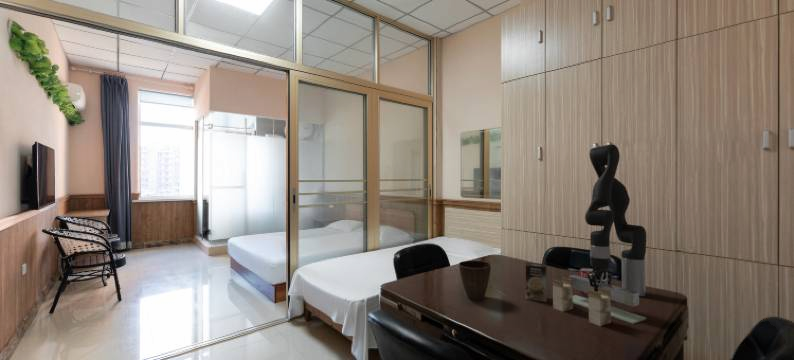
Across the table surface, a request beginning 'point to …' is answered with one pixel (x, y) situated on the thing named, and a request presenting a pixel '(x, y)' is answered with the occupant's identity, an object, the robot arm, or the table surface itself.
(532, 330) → the table surface
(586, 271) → the soda can
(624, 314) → the felt mat
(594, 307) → the post
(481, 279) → the plant pot
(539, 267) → the coffee box
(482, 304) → the table surface
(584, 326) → the table surface
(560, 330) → the table surface
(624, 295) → the rail
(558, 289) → the post
